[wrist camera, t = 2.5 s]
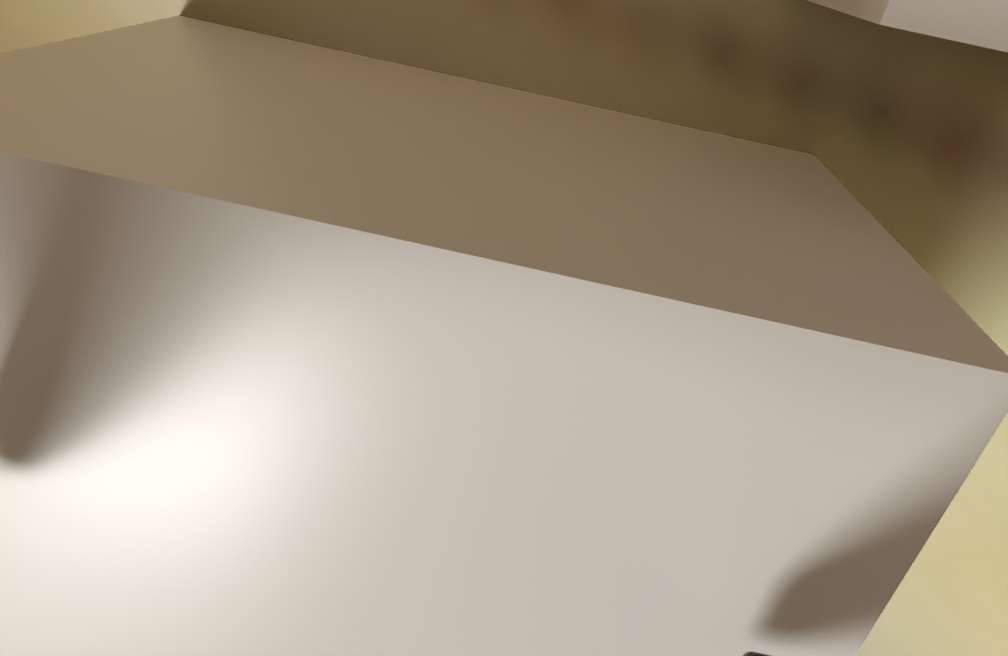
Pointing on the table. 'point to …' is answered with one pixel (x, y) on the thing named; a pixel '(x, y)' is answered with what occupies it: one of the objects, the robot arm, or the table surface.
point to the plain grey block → (445, 368)
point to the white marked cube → (936, 18)
